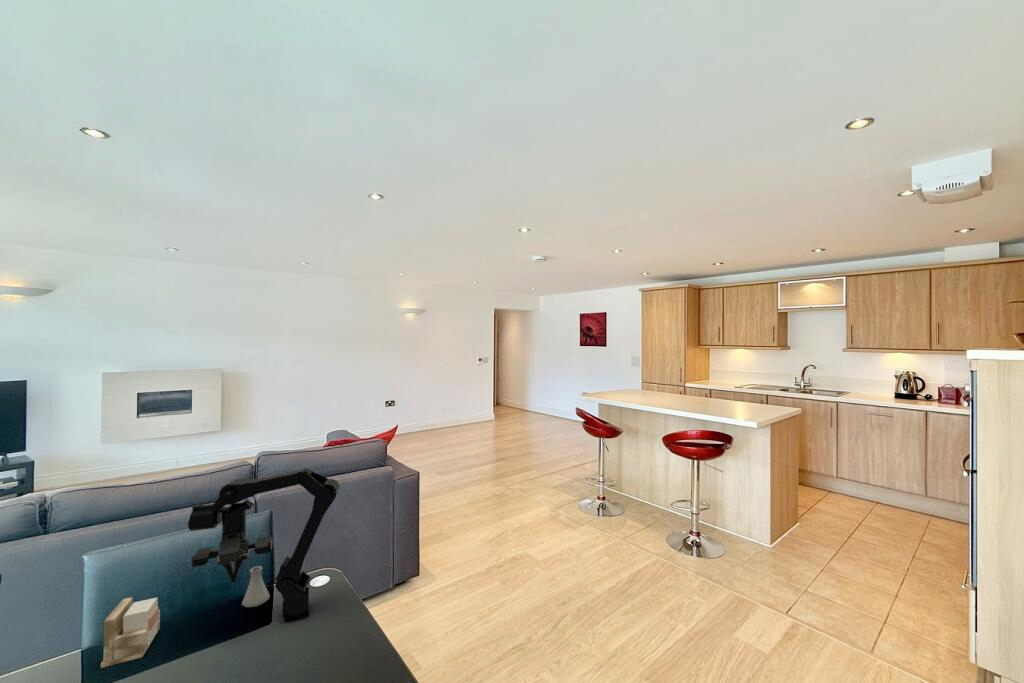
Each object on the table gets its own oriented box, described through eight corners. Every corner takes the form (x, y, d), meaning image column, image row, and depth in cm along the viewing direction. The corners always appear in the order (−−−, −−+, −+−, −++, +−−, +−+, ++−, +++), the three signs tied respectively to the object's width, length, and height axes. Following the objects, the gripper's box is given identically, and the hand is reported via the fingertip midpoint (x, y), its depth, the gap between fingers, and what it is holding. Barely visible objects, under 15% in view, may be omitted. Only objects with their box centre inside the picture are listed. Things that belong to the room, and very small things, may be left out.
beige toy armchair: (159, 631, 116) (160, 591, 116) (144, 656, 106) (145, 612, 106) (120, 641, 112) (120, 599, 113) (100, 668, 102) (101, 621, 103)
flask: (256, 609, 125) (256, 575, 125) (236, 607, 126) (236, 573, 127) (274, 596, 132) (274, 563, 132) (255, 594, 133) (255, 562, 134)
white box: (159, 630, 114) (159, 597, 114) (149, 645, 108) (150, 610, 108) (133, 636, 112) (134, 602, 112) (122, 652, 105) (123, 616, 106)
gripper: (185, 543, 108) (185, 605, 107) (268, 528, 116) (268, 586, 115) (197, 528, 118) (196, 584, 117) (272, 516, 126) (272, 568, 125)
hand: (234, 581), depth 118 cm, fingers closed
